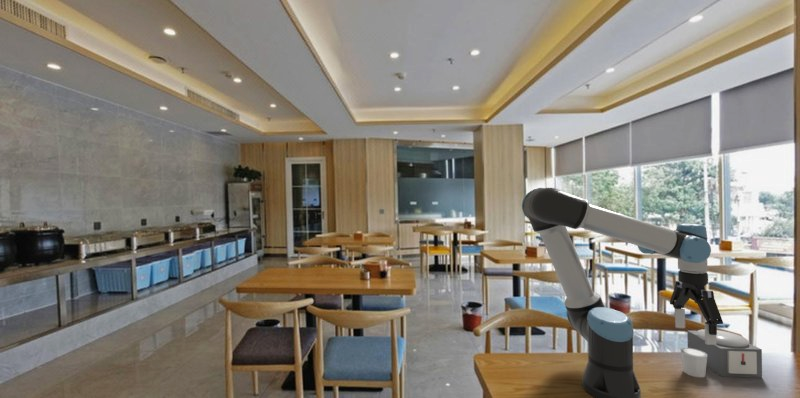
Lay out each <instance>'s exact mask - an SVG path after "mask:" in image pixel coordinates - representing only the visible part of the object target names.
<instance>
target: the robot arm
mask: <svg viewBox="0 0 800 398" xmlns="http://www.w3.org/2000/svg"><path fill="white" fill-rule="evenodd" d="M521 209H522V213H523V214H524V216H525V217H526V218H527V219H528V220H529V223H530V225H531V227H532V230H533V232H534V233H537V234H539V235H540V237H541V239H542V242H543V244H544V247H545V248H546V251H547V254H548V256H549V259H550V261H551V263H552V266H553V268H554V272H555V273H556V276H557V278H558V280H559V283H560V285H561V287H562V291H563V292H564V294H565V297H566V298H565V300H564V302H563V304H564V306H565V308H566V318H567V320H568V323H569V325H570V326H571V327H572V328H573V329H574V331H576V332H577V333H579V335H580V336H581V337H582V338H583V339H585V341H586V342H587V352H588V353H587V354H588V355H587V357H588V358H587V363H586V366H585V369H584V372H583V374H582V378H581V381H582V382H581V383H582V387H584V388H583V389H584V391H585V392H587V394H589V395H591V397H594V398H642V396H641V395H642V391H641V388H640V384H639V381H638V379H637V377H636V374H635V371H634V327H633V322H632V319H631V318H630V317H629V316H628V315H627V314H625V313H624V312H622V311H619V310H615V309H614V308H611V307H610V308H609V307H606V306H605V305H604V302H603V300H602V297H601V296H600V294H599V293H598V292H595V291H594V290H593V289H592V286H591V284H590V281H589V278H588V277H587V274H586V272H585V269H584V267H583V265H582V262H581V260H580V257H579V255H578V252H577V251H576V248H575V246H574V244H573V241H572V239H571V236H570V234H569V231H568V229H567V228H569V229H570V228H571V229H574V230H578V229H580V228H581V229H585V230H587V231H590V232H594V233H597V234H600V235H603V236H606V237H609V238H613V239H616V240H619V241H622V242H625V243H629V244H631V245H635V246H637V249H638V250H639V251H640V252H641V253H642V254H648V255H655V254H657V255H662V256H666V257H669V258H673V259H677V269H678V272H677V275H678V276H677V277H678V278H677V279H678V280H675V282H674V288H673V292H672V293H671V296H670V300H669V304H670V305H672V307H673V308H674V317H675V318H674V321H675V323H674V324H675V325H674V326H675V328H676V329H686V308H685V306H686V304H687V303H688V301H689V300H692V301H693V302H694V303H695V304H697V306H698V308H699V310H700V312H701V314H702V316H703V317H704V320H705V322H704V329H705V344H707V345H717V343H716V335H717V330H718V326H717V325H723V324H724V321H723V318H722V316H721V313H720V310H719V309H718V305H717V302H716V300H715V296H714V295H715V294H714V291H713V290H706V288H705V287H706V286H707V285H708V284H709V273H708V267H709V266H708V259H709V258H710V256H711V253H712V247H711V244H710V243H709V242H708V234H707V232H708V231H707V228H706V226H705V225H703V224H700V223H679V224H677V225H676V230H673V229H670V228H666V227H663V226H660V225H657V224H654V223H652V222H651V223H650V222H648V221H644V220H640V219H639V218H634V217H632V216H628V215H625V214H622V213H618V212H615V211H612V210H610V209H606V208H602V207H599V206H597V205H593V204H590V203H589V201H588V199H585V198H583V197H579V196H577V195H574V194H572V193H569V192H566V191H564V190H561V189H560V188H559V189H558V188H555V187H538V188H536V189H533V190H530V191H529V192H527V193H526V194H525V195H524V197H523V199H522V201H521Z"/></svg>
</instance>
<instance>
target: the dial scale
mask: <svg viewBox="0 0 800 398" xmlns="http://www.w3.org/2000/svg"><path fill="white" fill-rule="evenodd" d="M686 331H687V348H692V349H697V350H700V351H703V352H705V353H706V354H707V365H706V369H709V370H710V371H712V372H714V373H715V374H717V375H718V376H720V377H731V378H733V377H735V378H758V379H759V378H760V377H761V378H763V353H762V352H763V351H762V348H759V347H758V346H755V345H753V344H751V343H750V341H749V339H748V338H746V337H744V336H742V335H739V334H736V333H732V332H730V331H725V330H720V329H717V335H716V343H717V345H707V344H705V328H704V329H703V328H702V329H698V330H686Z"/></svg>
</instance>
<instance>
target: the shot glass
mask: <svg viewBox="0 0 800 398" xmlns="http://www.w3.org/2000/svg"><path fill="white" fill-rule="evenodd" d="M680 356H681V365H682V372H683V373H685V374H686V375H688V376H690V377H694V378H705V377H706V375H707V374H706V373H707V367H706V365H707V354H706V353H705V352H703V351H700V350H697V349H692V348H688V347H681V348H680Z"/></svg>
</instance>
